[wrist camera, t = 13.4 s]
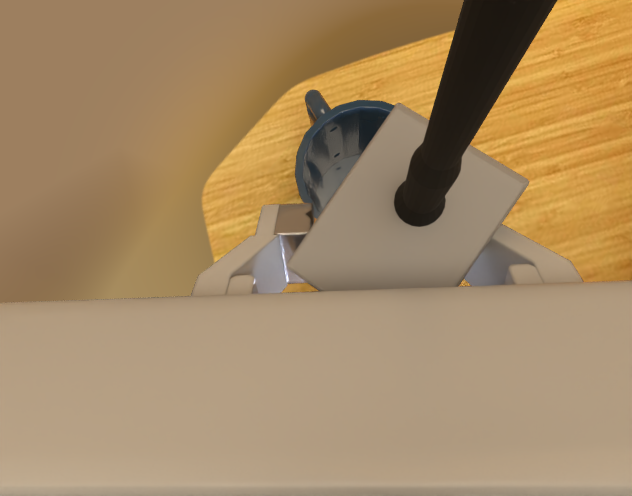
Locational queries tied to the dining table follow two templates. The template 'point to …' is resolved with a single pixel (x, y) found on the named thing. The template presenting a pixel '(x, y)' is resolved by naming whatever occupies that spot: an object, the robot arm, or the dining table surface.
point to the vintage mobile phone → (428, 172)
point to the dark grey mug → (334, 145)
